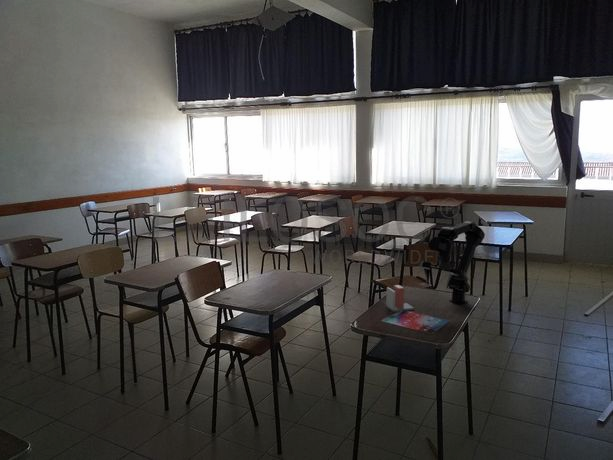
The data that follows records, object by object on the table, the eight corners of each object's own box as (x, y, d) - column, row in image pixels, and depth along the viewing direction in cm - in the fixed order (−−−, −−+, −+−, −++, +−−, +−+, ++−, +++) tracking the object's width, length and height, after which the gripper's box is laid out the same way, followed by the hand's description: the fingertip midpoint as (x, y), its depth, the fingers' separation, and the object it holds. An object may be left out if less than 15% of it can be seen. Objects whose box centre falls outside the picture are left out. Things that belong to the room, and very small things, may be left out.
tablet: (400, 310, 228) (400, 308, 228) (450, 322, 213) (450, 320, 213) (379, 322, 214) (379, 320, 214) (432, 336, 198) (432, 334, 198)
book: (398, 304, 232) (399, 284, 230) (403, 308, 227) (404, 287, 225) (393, 305, 231) (393, 285, 229) (397, 308, 226) (398, 288, 224)
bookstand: (406, 304, 234) (407, 285, 233) (413, 309, 228) (414, 289, 226) (386, 307, 231) (386, 287, 229) (392, 312, 225) (393, 291, 223)
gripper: (427, 249, 216) (420, 283, 216) (468, 258, 215) (461, 292, 215) (423, 249, 227) (416, 281, 227) (461, 257, 226) (454, 290, 226)
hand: (436, 286), depth 223 cm, fingers open, 9 cm apart
